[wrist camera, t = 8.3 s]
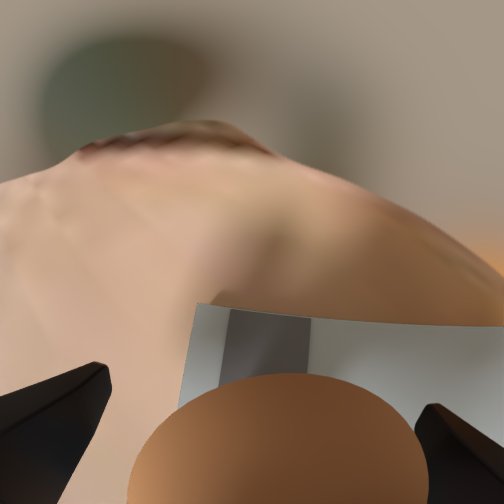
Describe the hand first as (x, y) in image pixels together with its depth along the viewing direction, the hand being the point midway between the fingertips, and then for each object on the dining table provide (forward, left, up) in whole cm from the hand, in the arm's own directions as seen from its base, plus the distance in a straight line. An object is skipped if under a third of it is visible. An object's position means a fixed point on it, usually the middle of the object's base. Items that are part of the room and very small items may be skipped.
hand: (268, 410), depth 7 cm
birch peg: (-1, -1, -6) cm, 6 cm away
